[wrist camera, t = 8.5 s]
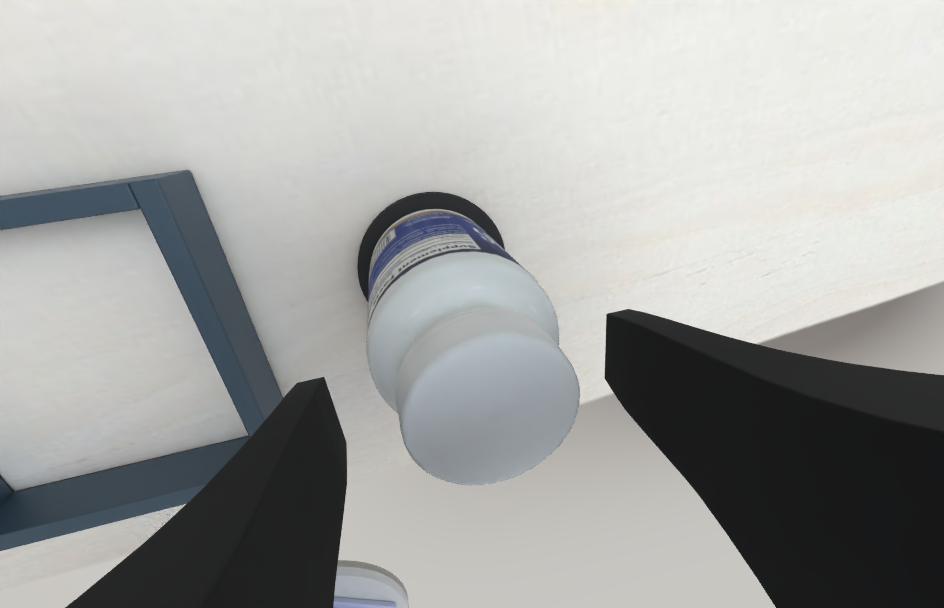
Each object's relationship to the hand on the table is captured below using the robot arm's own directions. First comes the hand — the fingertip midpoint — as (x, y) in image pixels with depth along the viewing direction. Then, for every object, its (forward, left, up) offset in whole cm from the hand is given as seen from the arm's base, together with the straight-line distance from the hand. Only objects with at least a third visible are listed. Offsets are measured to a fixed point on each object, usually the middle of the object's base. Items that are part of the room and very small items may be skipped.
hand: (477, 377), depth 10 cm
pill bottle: (0, 0, -8) cm, 8 cm away
